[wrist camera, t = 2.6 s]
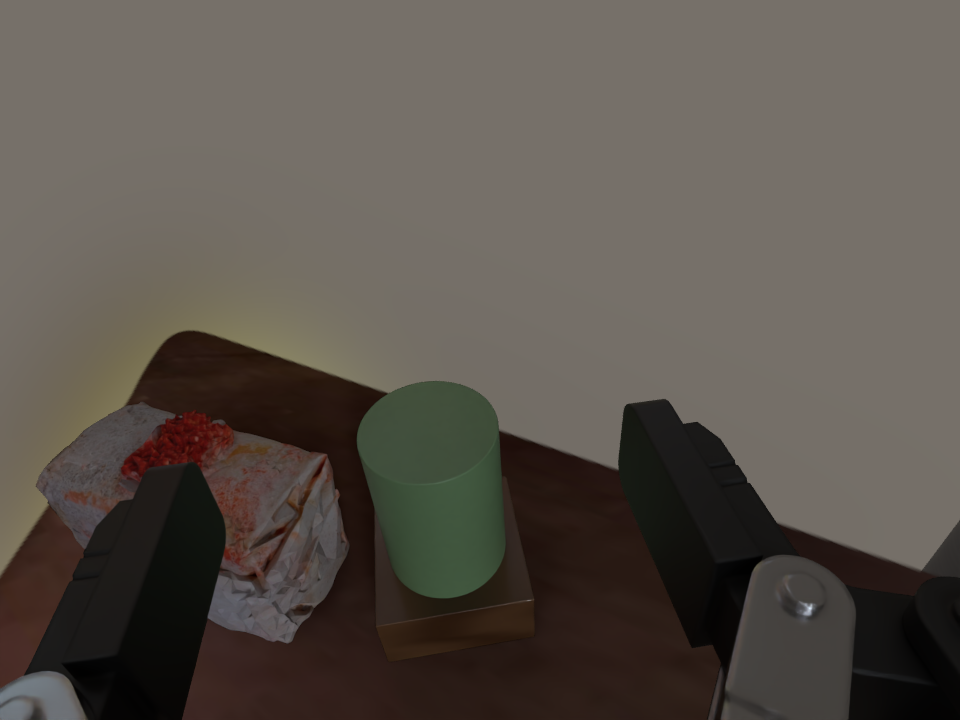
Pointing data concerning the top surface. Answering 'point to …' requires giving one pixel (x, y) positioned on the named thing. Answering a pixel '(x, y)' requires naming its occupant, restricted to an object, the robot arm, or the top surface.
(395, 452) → the green tin
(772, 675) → the robot arm
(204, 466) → the food item
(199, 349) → the top surface
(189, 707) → the top surface
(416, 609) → the walnut block
